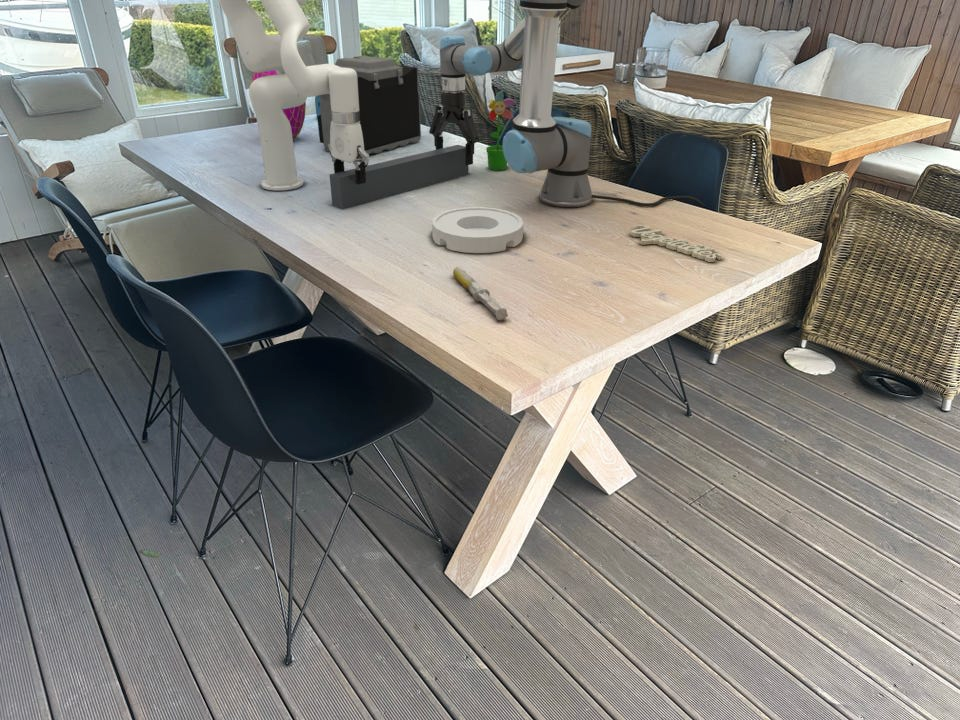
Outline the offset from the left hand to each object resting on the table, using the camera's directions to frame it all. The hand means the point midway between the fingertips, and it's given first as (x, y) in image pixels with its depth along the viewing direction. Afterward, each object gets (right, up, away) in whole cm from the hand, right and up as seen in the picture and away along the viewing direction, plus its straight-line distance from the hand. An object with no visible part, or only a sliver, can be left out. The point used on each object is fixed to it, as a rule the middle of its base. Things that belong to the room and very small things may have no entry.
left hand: (350, 179), depth 196 cm
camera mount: (-25, +53, +102) cm, 118 cm away
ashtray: (+36, -20, -20) cm, 46 cm away
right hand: (+29, +13, +27) cm, 41 cm away
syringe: (+37, -38, -51) cm, 73 cm away
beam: (+14, +2, +16) cm, 21 cm away
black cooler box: (-4, +29, +63) cm, 69 cm away
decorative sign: (+85, -23, -24) cm, 91 cm away
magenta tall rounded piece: (-38, +33, +69) cm, 86 cm away
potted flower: (+43, +14, +38) cm, 59 cm away
